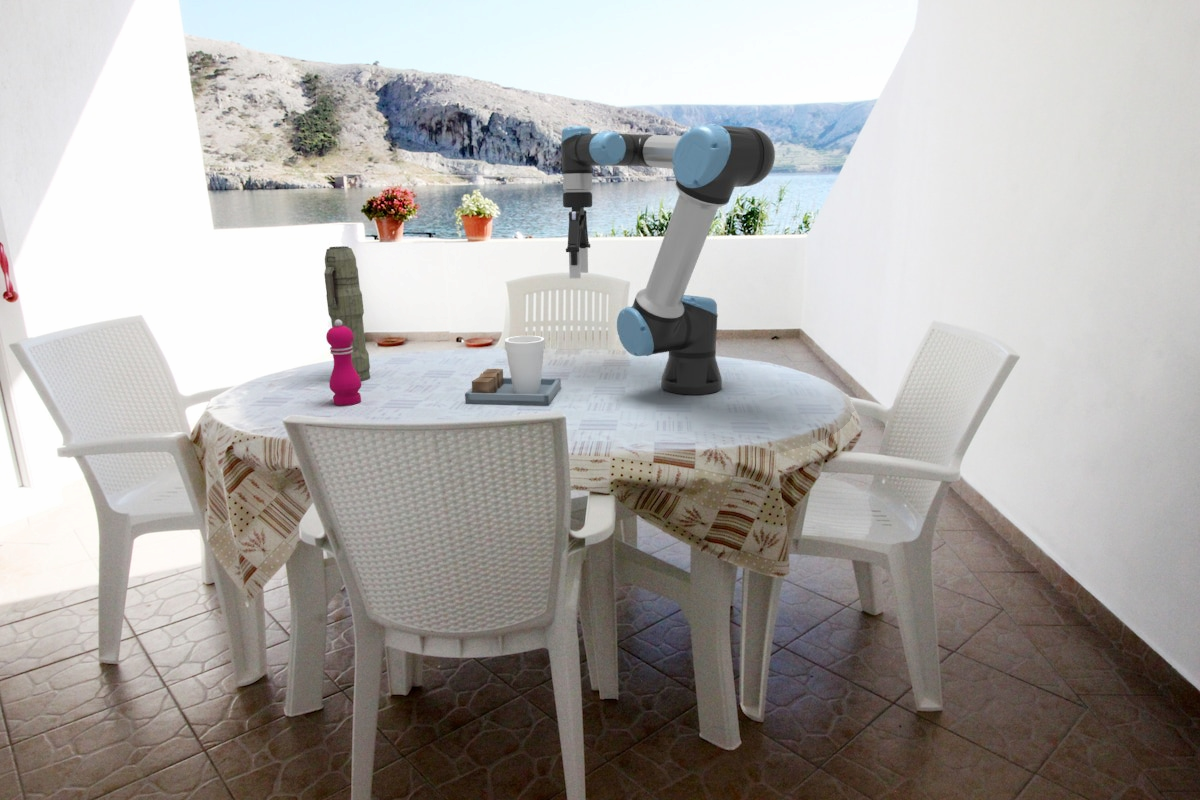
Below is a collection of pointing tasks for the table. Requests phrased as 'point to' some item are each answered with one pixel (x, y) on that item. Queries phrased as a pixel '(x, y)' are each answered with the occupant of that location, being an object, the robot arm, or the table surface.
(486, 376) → the block
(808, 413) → the table surface
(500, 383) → the block
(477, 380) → the block
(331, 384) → the pepper mill
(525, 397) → the tray
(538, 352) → the foam cup
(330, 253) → the carved stone statue
